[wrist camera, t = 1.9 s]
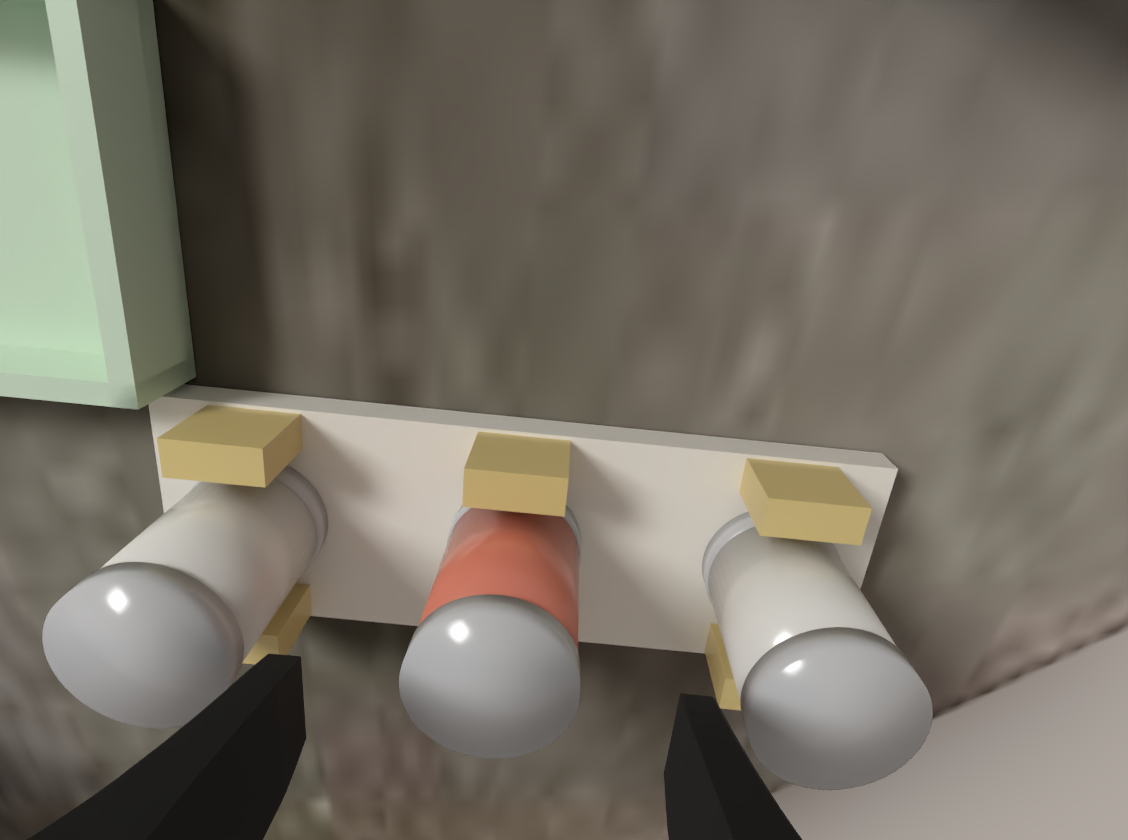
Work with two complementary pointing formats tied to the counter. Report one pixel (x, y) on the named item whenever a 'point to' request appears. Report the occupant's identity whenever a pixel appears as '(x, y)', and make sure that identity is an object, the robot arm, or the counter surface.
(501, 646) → the red fuse
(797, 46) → the counter surface
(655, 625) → the fuse block
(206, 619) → the grey fuse
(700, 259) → the counter surface
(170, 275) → the tray
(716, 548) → the grey fuse
